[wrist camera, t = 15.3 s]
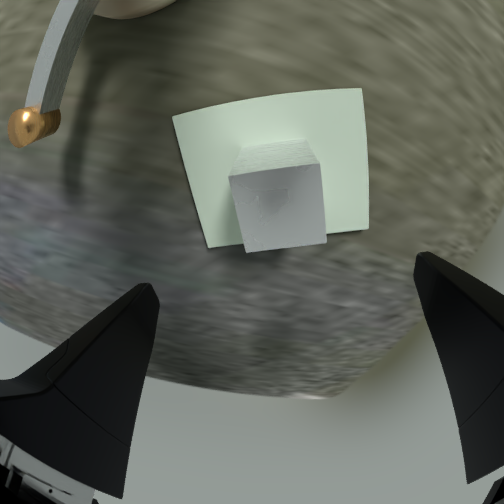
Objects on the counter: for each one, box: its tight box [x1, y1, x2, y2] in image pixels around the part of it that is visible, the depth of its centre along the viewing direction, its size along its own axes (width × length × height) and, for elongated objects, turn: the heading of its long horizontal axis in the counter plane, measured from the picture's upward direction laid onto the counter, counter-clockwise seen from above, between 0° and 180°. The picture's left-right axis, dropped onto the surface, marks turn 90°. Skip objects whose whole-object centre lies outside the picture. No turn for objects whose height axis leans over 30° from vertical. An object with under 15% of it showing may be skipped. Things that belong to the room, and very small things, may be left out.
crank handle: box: [8, 0, 100, 148], centre depth 8 cm, size 17×7×5 cm, turn 153°
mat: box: [172, 88, 369, 248], centre depth 18 cm, size 12×10×1 cm
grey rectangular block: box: [228, 138, 327, 253], centre depth 15 cm, size 4×4×6 cm
